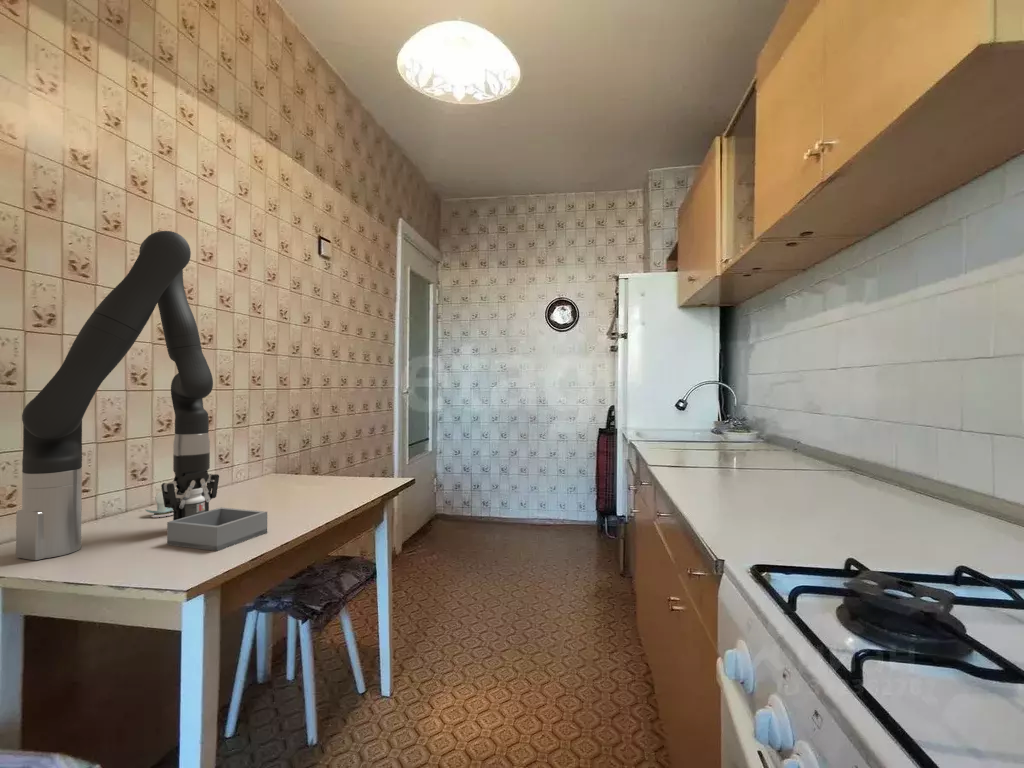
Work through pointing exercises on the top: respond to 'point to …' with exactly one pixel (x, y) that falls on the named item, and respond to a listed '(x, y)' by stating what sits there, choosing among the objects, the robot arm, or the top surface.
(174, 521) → the bin
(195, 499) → the pill bottle
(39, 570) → the top surface
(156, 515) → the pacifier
